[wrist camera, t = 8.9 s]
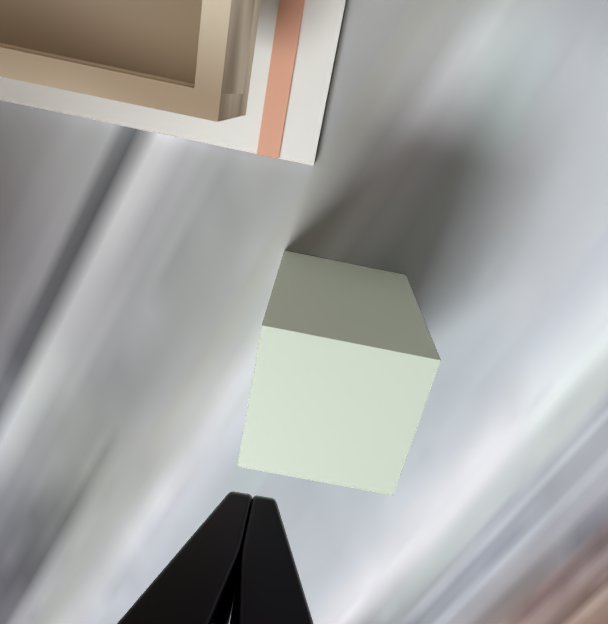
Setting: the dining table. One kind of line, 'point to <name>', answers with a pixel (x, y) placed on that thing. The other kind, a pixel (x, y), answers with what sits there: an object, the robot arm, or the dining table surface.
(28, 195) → the dining table surface
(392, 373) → the sage block
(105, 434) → the dining table surface
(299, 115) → the track board
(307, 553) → the dining table surface
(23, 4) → the beige open tray
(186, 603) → the robot arm
